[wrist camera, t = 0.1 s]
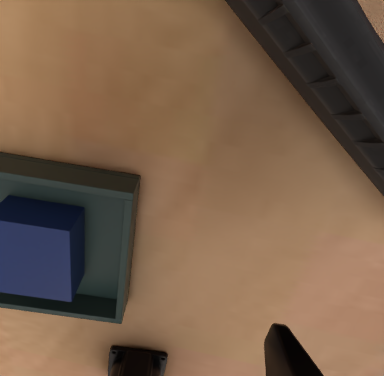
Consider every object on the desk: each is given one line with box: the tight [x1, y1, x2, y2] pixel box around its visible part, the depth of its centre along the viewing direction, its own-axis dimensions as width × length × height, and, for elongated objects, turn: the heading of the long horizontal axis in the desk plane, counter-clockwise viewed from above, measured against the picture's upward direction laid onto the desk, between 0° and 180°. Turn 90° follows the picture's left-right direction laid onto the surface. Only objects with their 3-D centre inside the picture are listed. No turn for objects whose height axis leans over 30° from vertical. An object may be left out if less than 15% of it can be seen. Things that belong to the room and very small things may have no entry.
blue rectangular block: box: [0, 195, 85, 302], centre depth 24 cm, size 8×6×3 cm
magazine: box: [225, 0, 384, 196], centre depth 14 cm, size 17×3×30 cm
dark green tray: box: [0, 152, 140, 324], centre depth 25 cm, size 14×14×3 cm
